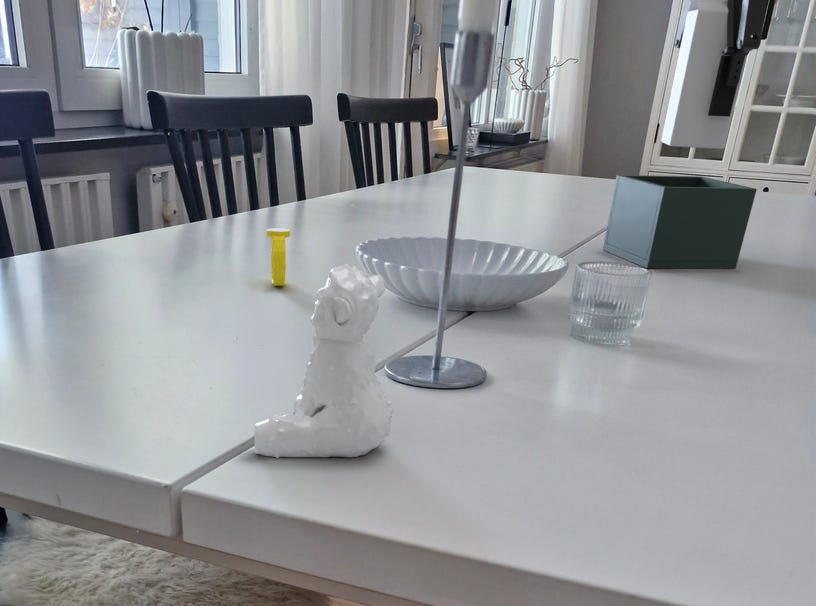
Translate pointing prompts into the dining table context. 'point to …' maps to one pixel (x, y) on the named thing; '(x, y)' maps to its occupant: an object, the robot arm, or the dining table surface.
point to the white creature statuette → (335, 379)
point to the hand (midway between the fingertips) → (699, 113)
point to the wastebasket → (678, 221)
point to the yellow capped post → (278, 254)
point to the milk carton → (699, 80)
